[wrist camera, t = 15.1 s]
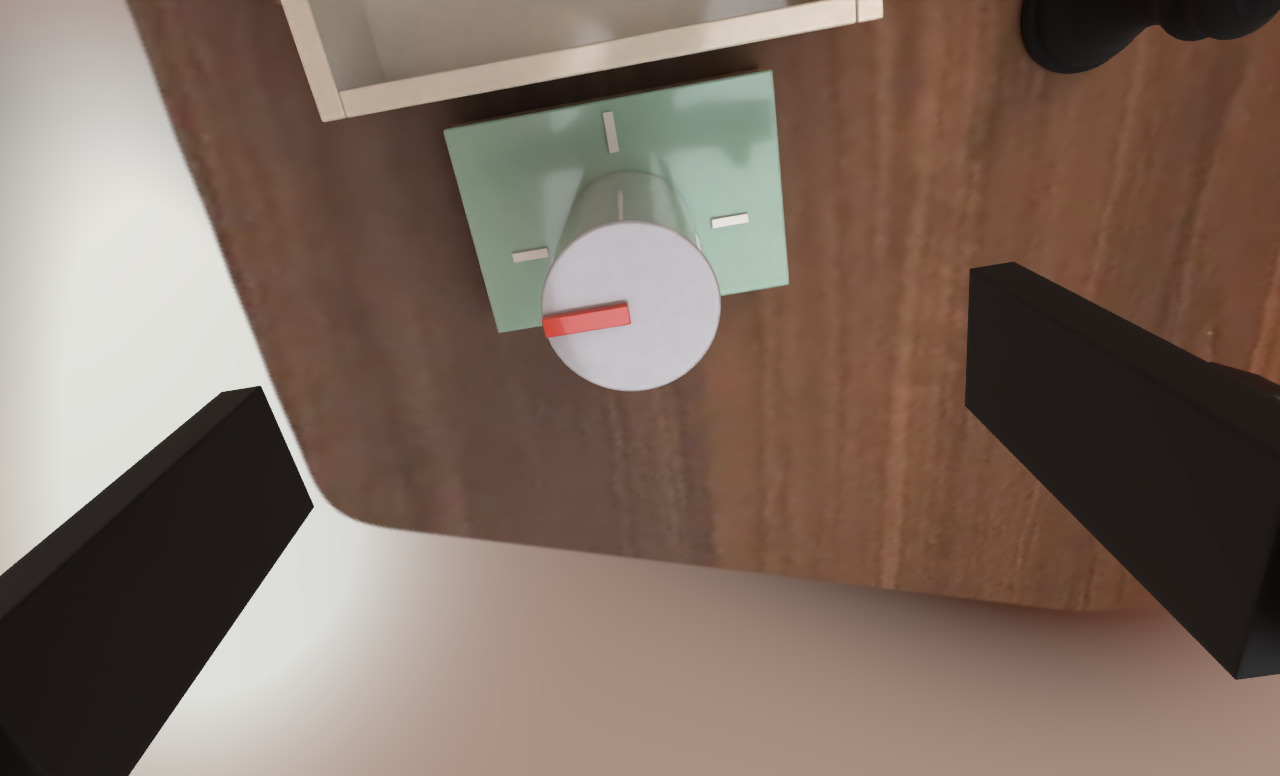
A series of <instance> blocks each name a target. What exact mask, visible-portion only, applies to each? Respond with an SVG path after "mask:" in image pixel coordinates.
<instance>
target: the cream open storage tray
mask: <svg viewBox="0 0 1280 776" xmlns="http://www.w3.org/2000/svg"><path fill="white" fill-rule="evenodd" d="M281 3H282V6H283V9H284V12H285V15H286V18H287V21H288V23H289V26H290V29H291V32H292V35H293V38H294V41H295V44H296V47H297V50H298V53H299V56H300V58H301V61H302V64H303V67H304V70H305V73H306V76H307V79H308V82H309V85H310V88H311V90H312V93H313V96H314V99H315V102H316V105H317V108H318V111H319V114H320V117H321V120H322V121H323V122H329V121H335V120H340V119H345V118H351V117H356V116H361V115H367V114H372V113H378V112H383V111H388V110H394V109H399V108H404V107H410V106H415V105H421V104H426V103H431V102H437V101H442V100H447V99H453V98H458V97H464V96H469V95H474V94H480V93H485V92H490V91H496V90H501V89H507V88H512V87H517V86H523V85H528V84H533V83H539V82H544V81H550V80H555V79H560V78H566V77H571V76H576V75H582V74H587V73H593V72H598V71H603V70H609V69H614V68H619V67H625V66H630V65H636V64H641V63H646V62H652V61H657V60H662V59H668V58H673V57H679V56H684V55H689V54H695V53H700V52H705V51H711V50H716V49H722V48H727V47H732V46H738V45H743V44H748V43H754V42H759V41H765V40H770V39H775V38H781V37H786V36H791V35H797V34H802V33H808V32H813V31H818V30H824V29H829V28H834V27H840V26H845V25H851V24H855V23H861V22H867V21H872V20H877V19H881V18H883V0H281Z"/></svg>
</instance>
